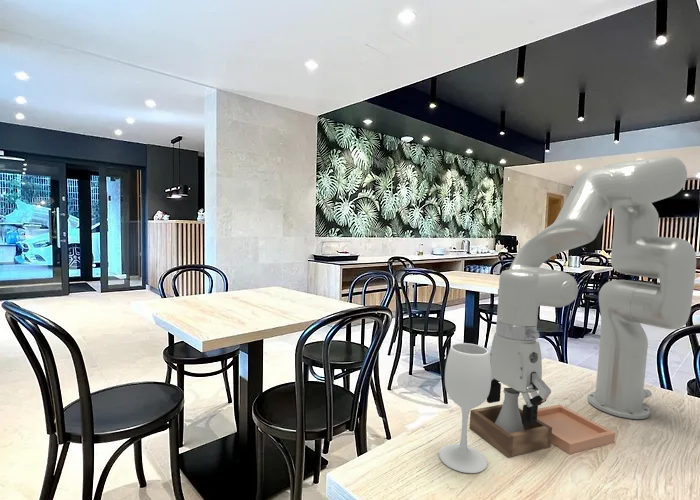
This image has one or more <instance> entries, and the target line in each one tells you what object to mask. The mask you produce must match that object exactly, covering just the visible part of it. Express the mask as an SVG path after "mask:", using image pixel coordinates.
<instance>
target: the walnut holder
mask: <svg viewBox="0 0 700 500" xmlns="http://www.w3.org/2000/svg"><path fill="white" fill-rule="evenodd" d="M502 406H503V403H501V404H496V405H491V406H485V407H480V408H475V409H474V408H473V409H471V410H470V412H469V415H470V417H469V429H470V430H471V431H472V432H473V433H475V434H476V435H478V437H480V438H482V439H483V440H484V441H485V442H487V443H488V444H490V446H492V447H493V448H495V449H496V450H497V451H499V452H500V453H501V454H502V455H503V456H505V457H507V458H508V459H509V458H512V457H517V456H519V455H524V454H528V453H532V452H537V451H539V450H540V451H541V450H543V449H544V450H545V449H549V448H551V446H552V443H551V436H552V427H550V426H548V425H547V424H545V423H543V422H542V421H540V420H538V419H537V422H536V424H532V425H527V426H524V425H523V426H524V431H519V432H515V433H510V434H509V433H508V432H506V431H505V430H504V429H502V428H501V427H499V426H498V425H496V424H495V422H496V420H497V418H498V416H499V413H500V411H501V409H502ZM519 412H520V416H521V420H522V414H523V409H521V408H519Z"/></svg>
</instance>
